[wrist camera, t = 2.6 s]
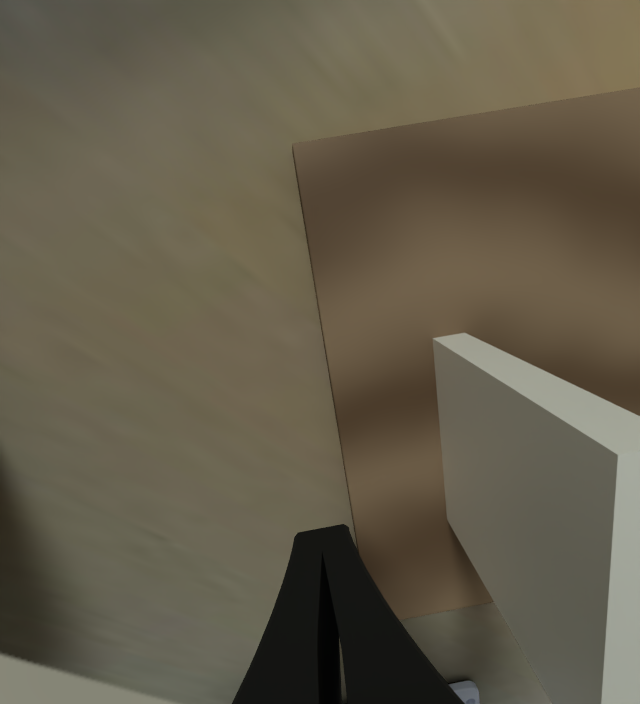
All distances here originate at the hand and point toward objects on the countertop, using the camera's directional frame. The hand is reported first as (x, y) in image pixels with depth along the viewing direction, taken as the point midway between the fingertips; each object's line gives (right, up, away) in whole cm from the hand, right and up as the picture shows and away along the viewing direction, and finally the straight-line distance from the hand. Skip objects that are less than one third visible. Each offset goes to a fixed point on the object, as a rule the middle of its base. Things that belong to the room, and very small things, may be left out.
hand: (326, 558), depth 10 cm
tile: (+5, +2, +5) cm, 7 cm away
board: (+8, +4, +6) cm, 10 cm away
